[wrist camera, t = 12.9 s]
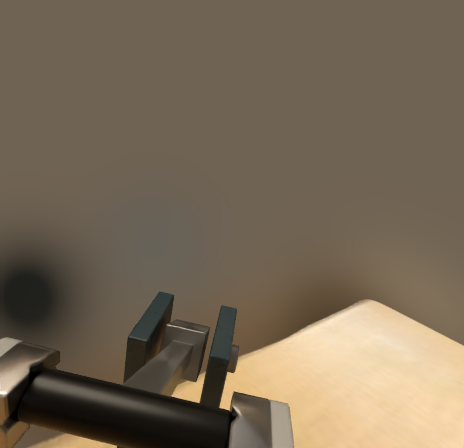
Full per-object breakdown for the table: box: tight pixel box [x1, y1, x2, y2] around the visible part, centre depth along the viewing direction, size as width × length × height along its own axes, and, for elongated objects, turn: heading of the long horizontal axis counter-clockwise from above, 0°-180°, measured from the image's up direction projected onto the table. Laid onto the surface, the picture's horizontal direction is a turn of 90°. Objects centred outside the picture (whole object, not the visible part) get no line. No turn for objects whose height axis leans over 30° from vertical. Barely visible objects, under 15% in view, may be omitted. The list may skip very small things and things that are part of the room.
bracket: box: [117, 292, 239, 448], centre depth 17 cm, size 9×8×15 cm
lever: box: [17, 320, 231, 448], centre depth 12 cm, size 11×5×2 cm, turn 176°
